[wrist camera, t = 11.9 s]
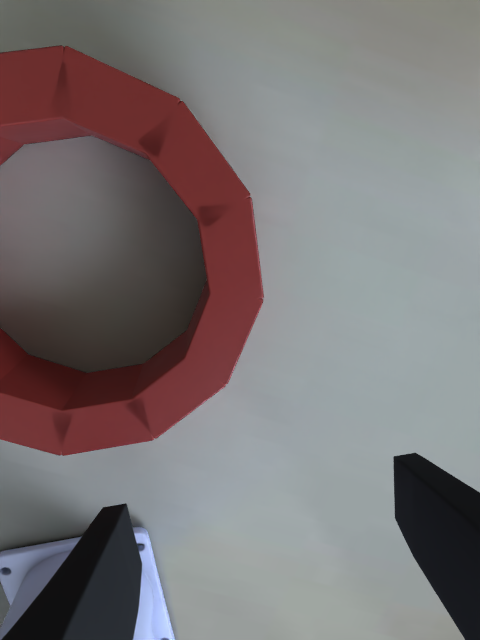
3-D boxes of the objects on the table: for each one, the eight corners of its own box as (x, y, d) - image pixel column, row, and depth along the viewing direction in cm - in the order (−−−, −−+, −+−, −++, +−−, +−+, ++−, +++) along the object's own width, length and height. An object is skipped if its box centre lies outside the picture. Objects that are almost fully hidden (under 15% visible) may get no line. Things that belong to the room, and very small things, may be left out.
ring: (265, 381, 20) (278, 419, 17) (-22, 429, 19) (-70, 479, 16) (224, 61, 16) (230, 23, 12) (-143, 107, 15) (-243, 81, 12)
